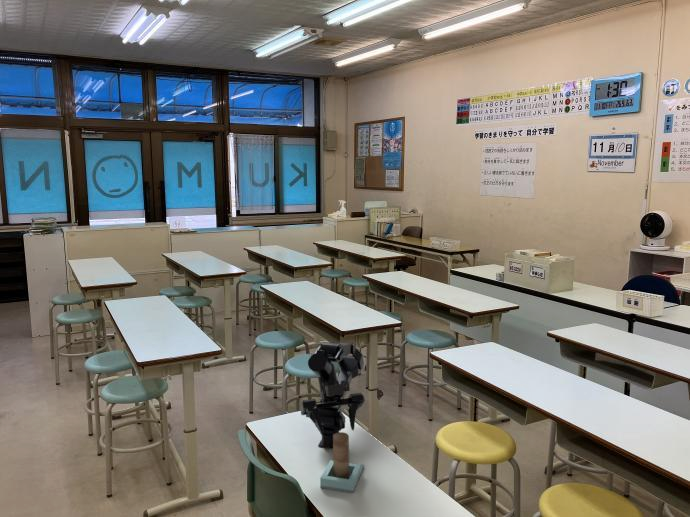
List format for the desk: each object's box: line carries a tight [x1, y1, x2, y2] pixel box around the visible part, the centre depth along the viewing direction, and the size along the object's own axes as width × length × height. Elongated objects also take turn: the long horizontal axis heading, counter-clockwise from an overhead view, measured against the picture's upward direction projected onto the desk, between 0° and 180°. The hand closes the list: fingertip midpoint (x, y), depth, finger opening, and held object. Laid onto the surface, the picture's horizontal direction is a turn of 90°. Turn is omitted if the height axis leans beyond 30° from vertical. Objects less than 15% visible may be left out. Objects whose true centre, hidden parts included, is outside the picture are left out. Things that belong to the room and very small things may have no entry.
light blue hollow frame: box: [319, 459, 365, 494], centre depth 155 cm, size 13×9×3 cm
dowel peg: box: [332, 431, 350, 479], centre depth 152 cm, size 4×4×13 cm
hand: (337, 432), depth 156 cm, fingers open, 9 cm apart
